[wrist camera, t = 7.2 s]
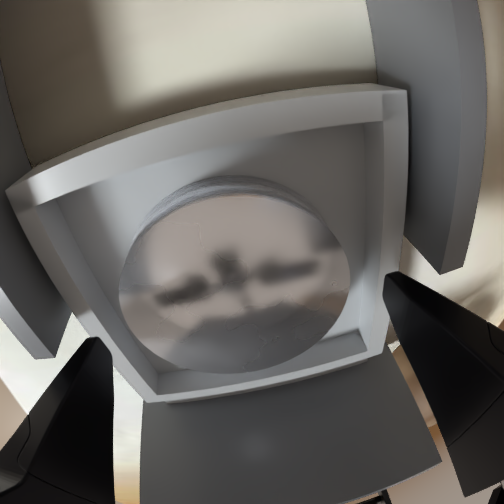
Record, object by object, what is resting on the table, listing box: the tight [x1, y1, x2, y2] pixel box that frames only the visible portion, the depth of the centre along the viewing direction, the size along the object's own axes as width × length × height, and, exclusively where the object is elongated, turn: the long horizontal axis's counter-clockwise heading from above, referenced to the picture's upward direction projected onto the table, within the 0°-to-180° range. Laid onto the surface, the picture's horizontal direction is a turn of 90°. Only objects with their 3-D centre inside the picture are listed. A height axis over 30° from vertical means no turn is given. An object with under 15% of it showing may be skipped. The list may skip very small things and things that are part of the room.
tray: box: [5, 83, 442, 504], centre depth 9 cm, size 14×14×8 cm
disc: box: [119, 175, 350, 374], centre depth 10 cm, size 7×7×2 cm
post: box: [392, 345, 437, 427], centre depth 15 cm, size 4×4×5 cm
